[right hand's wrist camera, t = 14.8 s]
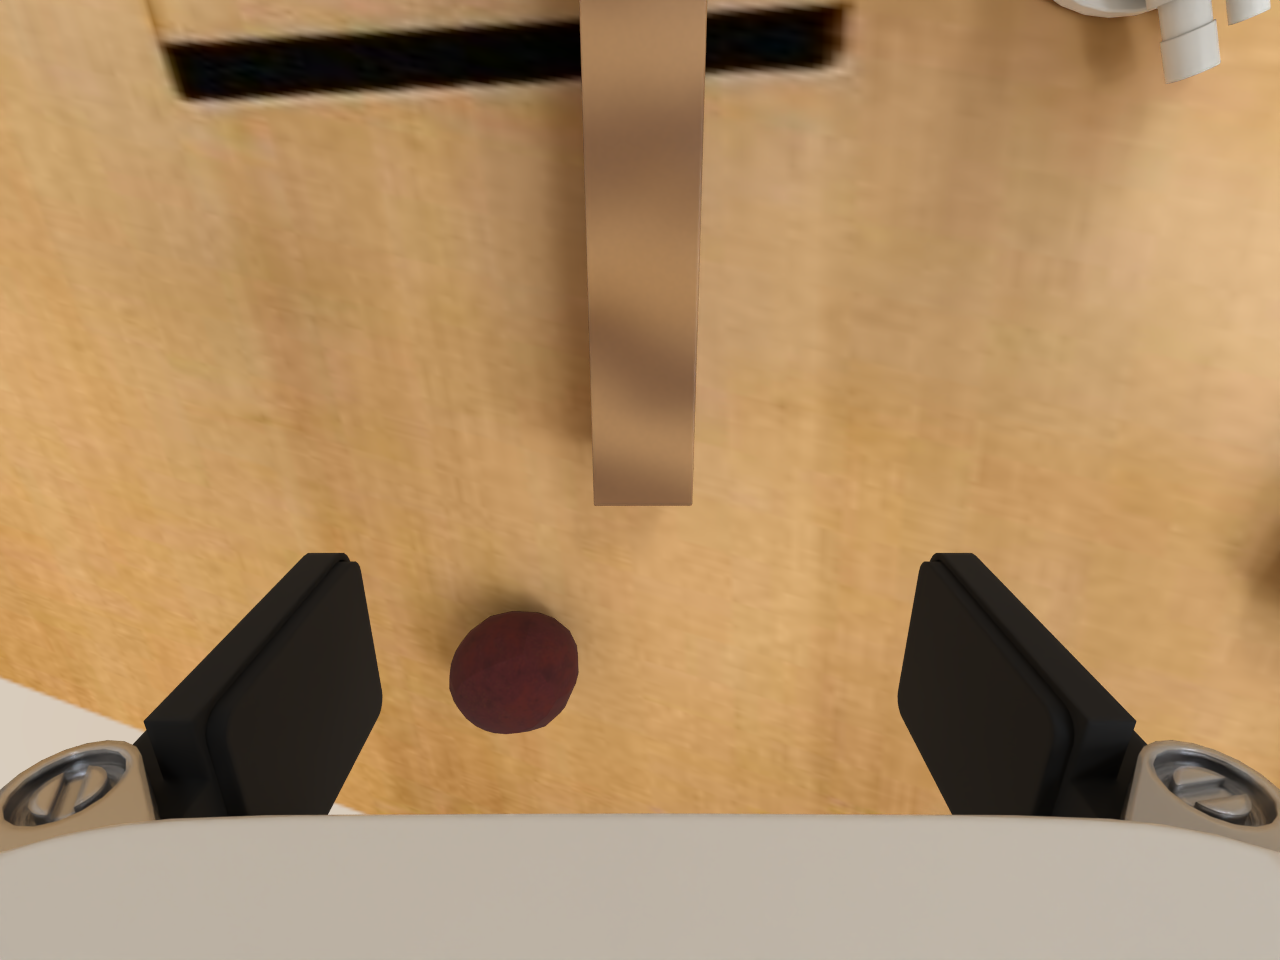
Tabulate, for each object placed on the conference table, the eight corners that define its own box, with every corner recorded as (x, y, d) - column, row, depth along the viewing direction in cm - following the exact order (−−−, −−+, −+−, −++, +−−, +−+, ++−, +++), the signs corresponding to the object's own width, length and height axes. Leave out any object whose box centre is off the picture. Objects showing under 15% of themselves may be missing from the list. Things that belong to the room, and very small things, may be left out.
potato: (443, 623, 44) (409, 696, 37) (542, 566, 42) (524, 632, 35) (511, 701, 46) (490, 782, 39) (607, 650, 44) (601, 726, 38)
